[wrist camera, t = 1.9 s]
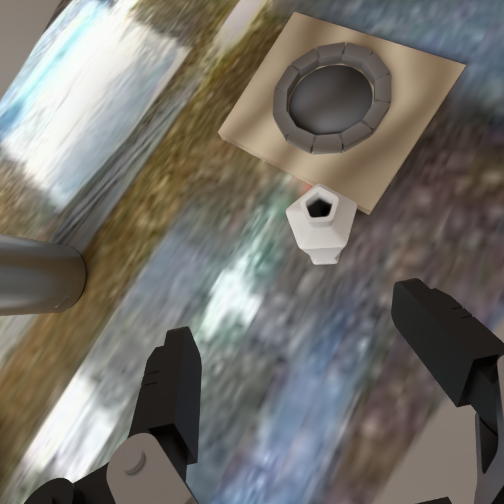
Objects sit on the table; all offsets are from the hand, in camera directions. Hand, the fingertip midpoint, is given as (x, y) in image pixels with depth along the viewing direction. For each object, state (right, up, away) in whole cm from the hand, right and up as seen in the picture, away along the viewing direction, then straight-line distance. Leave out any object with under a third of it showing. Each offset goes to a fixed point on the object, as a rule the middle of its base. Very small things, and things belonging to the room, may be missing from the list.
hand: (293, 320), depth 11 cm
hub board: (+7, +19, +21) cm, 29 cm away
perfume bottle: (+6, +3, +19) cm, 21 cm away
